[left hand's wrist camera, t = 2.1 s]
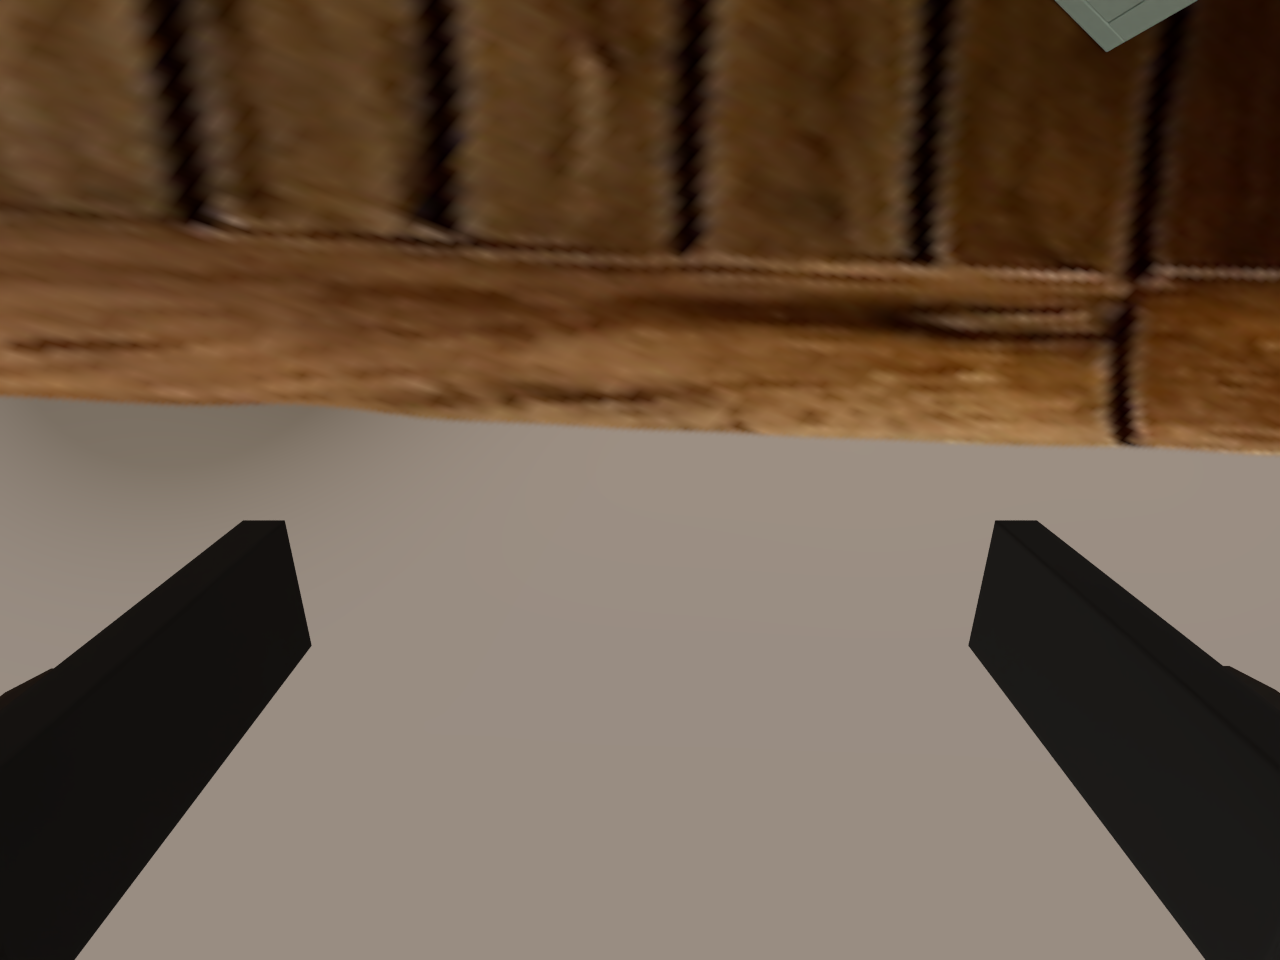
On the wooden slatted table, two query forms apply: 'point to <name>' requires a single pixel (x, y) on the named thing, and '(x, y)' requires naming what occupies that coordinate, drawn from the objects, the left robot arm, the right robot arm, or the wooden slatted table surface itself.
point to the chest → (1119, 17)
